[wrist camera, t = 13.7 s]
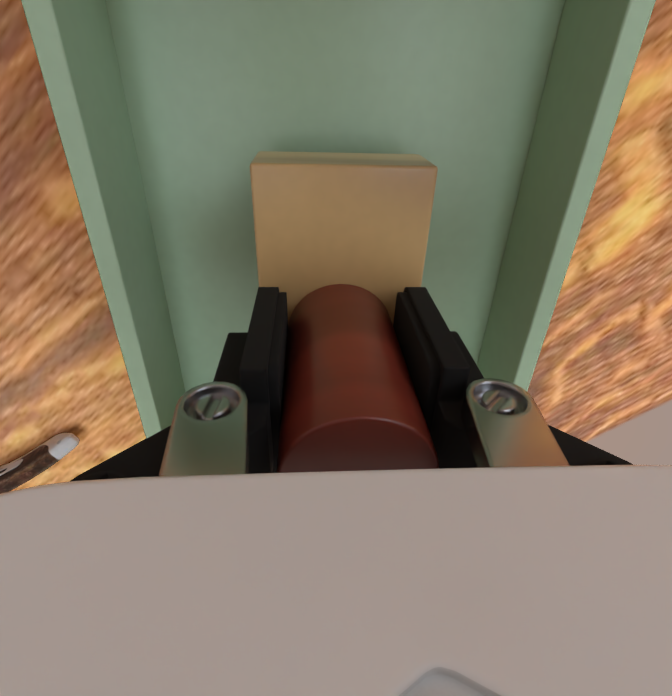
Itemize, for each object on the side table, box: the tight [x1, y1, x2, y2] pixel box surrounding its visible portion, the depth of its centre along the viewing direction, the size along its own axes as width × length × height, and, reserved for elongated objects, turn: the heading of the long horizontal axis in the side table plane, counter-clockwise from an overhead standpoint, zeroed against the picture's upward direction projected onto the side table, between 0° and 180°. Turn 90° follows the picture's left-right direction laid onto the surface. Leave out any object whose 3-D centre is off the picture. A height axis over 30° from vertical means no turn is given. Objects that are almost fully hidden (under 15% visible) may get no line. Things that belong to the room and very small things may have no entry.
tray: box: [21, 0, 656, 438], centre depth 13 cm, size 17×13×4 cm
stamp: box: [250, 151, 439, 473], centre depth 12 cm, size 9×4×9 cm, turn 179°
